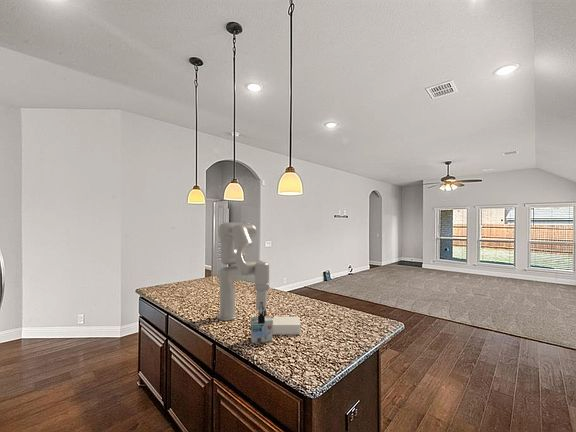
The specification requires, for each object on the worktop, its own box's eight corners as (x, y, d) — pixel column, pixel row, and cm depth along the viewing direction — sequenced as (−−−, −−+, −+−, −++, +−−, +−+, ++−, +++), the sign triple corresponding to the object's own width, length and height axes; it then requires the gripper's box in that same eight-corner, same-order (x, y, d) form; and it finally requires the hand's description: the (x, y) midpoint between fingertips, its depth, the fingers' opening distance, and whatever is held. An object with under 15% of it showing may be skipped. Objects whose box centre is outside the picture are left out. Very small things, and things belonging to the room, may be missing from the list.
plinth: (273, 325, 163) (273, 316, 163) (299, 325, 164) (299, 316, 164) (272, 334, 150) (272, 325, 150) (300, 334, 151) (300, 325, 151)
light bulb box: (252, 343, 139) (252, 321, 139) (250, 338, 146) (250, 317, 146) (273, 341, 142) (273, 319, 142) (270, 335, 148) (270, 315, 149)
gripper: (256, 283, 153) (256, 314, 152) (252, 290, 135) (253, 326, 135) (270, 283, 153) (270, 314, 152) (268, 290, 135) (268, 326, 135)
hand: (262, 320), depth 143 cm, fingers open, 9 cm apart
